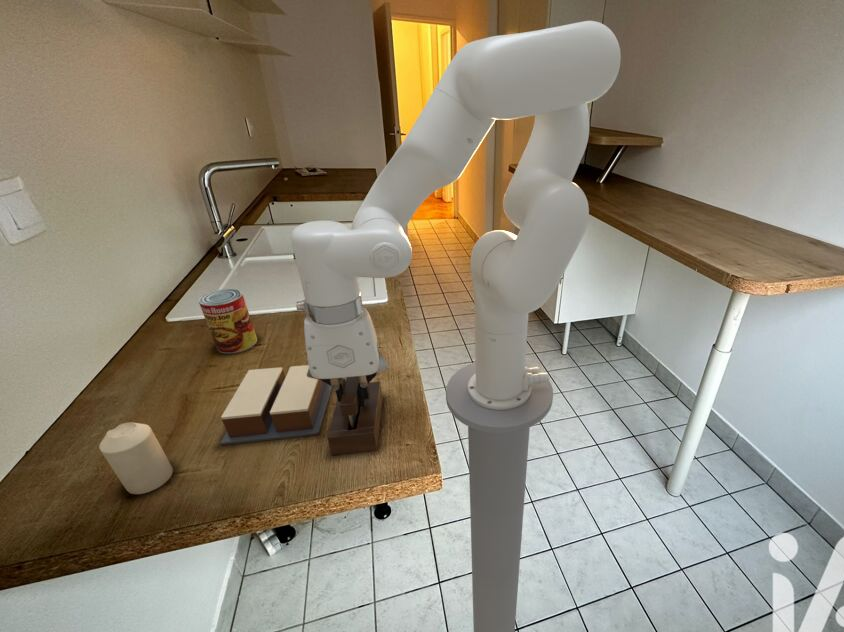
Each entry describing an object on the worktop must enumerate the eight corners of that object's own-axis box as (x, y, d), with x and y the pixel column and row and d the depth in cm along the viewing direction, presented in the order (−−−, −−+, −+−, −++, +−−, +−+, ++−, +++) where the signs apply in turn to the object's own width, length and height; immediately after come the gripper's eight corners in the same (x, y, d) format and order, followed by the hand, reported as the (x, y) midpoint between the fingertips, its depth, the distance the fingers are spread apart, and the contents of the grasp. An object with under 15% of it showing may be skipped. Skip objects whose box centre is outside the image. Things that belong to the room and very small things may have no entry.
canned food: (208, 352, 90) (189, 303, 84) (232, 333, 97) (215, 287, 91) (243, 354, 90) (226, 305, 84) (264, 336, 96) (250, 289, 91)
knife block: (344, 401, 78) (340, 384, 76) (383, 397, 79) (380, 381, 77) (332, 455, 66) (327, 437, 64) (377, 450, 68) (373, 432, 66)
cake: (334, 381, 83) (329, 360, 80) (318, 434, 70) (312, 412, 68) (252, 388, 80) (244, 367, 77) (221, 445, 67) (211, 422, 65)
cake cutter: (356, 406, 77) (348, 367, 72) (369, 405, 77) (362, 366, 73) (349, 446, 68) (339, 405, 64) (363, 444, 69) (354, 403, 64)
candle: (161, 491, 59) (132, 442, 54) (117, 497, 58) (83, 447, 53) (180, 462, 64) (154, 413, 59) (139, 467, 63) (110, 418, 58)
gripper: (269, 323, 56) (299, 423, 65) (390, 315, 59) (402, 412, 68) (284, 298, 63) (310, 393, 72) (392, 293, 66) (404, 384, 75)
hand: (355, 401), depth 70 cm, fingers closed on cake cutter, 2 cm apart
